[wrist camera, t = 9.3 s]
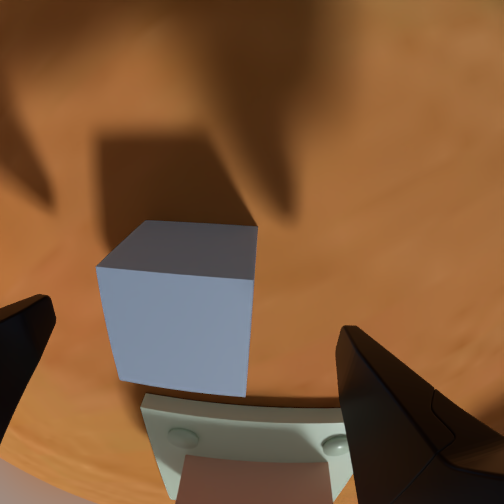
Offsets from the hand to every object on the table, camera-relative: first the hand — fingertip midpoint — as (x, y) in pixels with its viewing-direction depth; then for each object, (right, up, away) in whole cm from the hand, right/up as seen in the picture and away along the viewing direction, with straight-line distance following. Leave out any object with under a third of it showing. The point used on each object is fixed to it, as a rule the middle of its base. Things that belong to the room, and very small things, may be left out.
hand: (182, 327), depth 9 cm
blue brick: (0, +1, +3) cm, 3 cm away
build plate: (+2, -11, +8) cm, 14 cm away
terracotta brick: (+2, -11, +7) cm, 13 cm away
